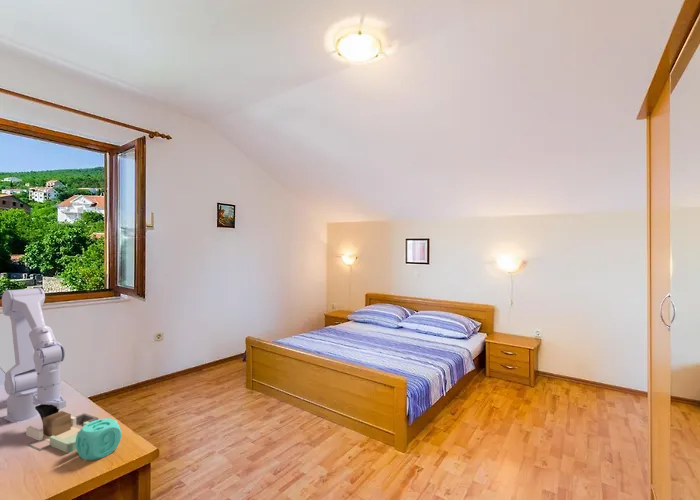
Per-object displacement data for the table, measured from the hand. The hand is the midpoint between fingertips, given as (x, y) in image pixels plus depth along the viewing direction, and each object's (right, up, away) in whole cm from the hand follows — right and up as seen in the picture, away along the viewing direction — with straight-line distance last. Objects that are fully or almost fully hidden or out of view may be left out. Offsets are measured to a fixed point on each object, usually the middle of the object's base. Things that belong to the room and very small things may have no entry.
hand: (49, 426), depth 111 cm
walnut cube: (+4, -1, -2) cm, 4 cm away
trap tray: (+8, -2, -3) cm, 9 cm away
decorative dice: (+24, -2, -11) cm, 26 cm away
